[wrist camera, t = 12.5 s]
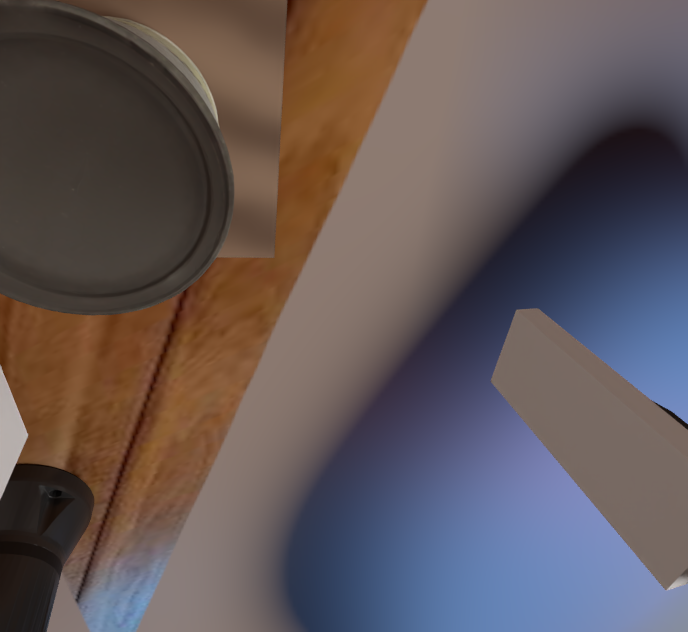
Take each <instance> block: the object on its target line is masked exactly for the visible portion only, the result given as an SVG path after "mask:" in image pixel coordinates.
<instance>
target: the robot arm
mask: <svg viewBox="0 0 688 632" xmlns="http://www.w3.org/2000/svg"><path fill="white" fill-rule="evenodd" d="M491 382H492V384H493V385H494V386H495V387H496V388H497V389H498V391H499V392H500V393H501V394H502V395H503V396H504V398H505V399H506V400H507V401H508V403H509V404H510V405H511V406H512V407H513V409H514V410H515V411H516V412H517V413H518V415H519V416H520V417H521V418H522V419H523V421H524V422H525V423H526V424H527V425H528V426H529V428H530V429H531V430H532V431H533V432H534V434H535V435H536V436H537V437H538V438H539V440H540V441H541V442H542V443H543V444H544V446H545V447H546V448H547V449H548V450H549V451H550V453H551V454H552V455H553V456H554V458H555V459H556V460H557V461H558V462H559V463H560V465H561V466H562V467H563V468H564V469H565V471H566V472H567V473H568V474H569V475H570V477H571V478H572V479H573V480H574V481H575V483H576V484H577V485H578V486H579V487H580V489H581V490H582V491H583V492H584V493H585V494H586V496H587V497H588V498H589V499H590V500H591V502H592V503H593V504H594V505H595V506H596V508H597V509H598V510H599V511H600V512H601V514H602V515H603V516H604V517H605V518H606V520H607V521H608V522H609V523H610V524H611V526H612V527H613V528H614V529H615V530H616V531H617V533H618V534H619V535H620V536H621V537H622V539H623V540H624V541H625V542H626V543H627V545H628V546H629V547H630V548H631V549H632V550H633V552H634V553H635V554H636V555H637V557H638V558H639V559H640V560H641V561H642V563H643V564H644V565H645V566H646V567H647V568H648V570H649V571H650V572H651V573H652V574H653V576H654V577H655V578H656V579H657V580H658V582H659V583H660V584H661V585H662V586H663V588H664V589H665V590H669V589H672V588H675V587H678V586H681V585H685V584H688V424H687V423H685V422H684V421H683V420H682V419H680V418H679V417H678V416H676V415H675V414H674V413H673V412H671V411H669V410H668V409H666V408H664V407H662V406H660V405H658V404H657V403H655V402H653V401H652V400H650V399H649V398H648V397H646V396H645V395H644V394H643V393H642V392H640V391H639V390H638V389H637V388H635V387H634V386H633V385H632V384H630V383H629V382H628V381H627V380H625V379H624V378H623V377H622V376H620V375H619V374H618V373H617V372H616V371H614V370H613V369H612V368H611V367H609V366H608V365H607V364H606V363H604V362H603V361H602V360H601V359H600V358H598V357H597V356H596V355H595V354H593V353H592V352H591V351H590V350H588V349H587V348H586V347H585V346H584V345H582V344H581V343H580V342H579V341H577V340H576V339H575V338H573V337H572V336H571V335H570V334H569V333H567V332H566V331H565V330H564V329H563V328H561V327H560V326H559V325H557V324H556V323H555V322H554V321H553V320H551V319H550V318H549V317H548V316H546V315H545V314H544V313H543V312H542V311H540V310H539V309H523V310H516V313H515V315H514V318H513V321H512V324H511V327H510V329H509V332H508V335H507V338H506V340H505V343H504V346H503V349H502V351H501V354H500V357H499V360H498V362H497V365H496V368H495V371H494V373H493V376H492V379H491ZM27 437H28V434H27V431H26V429H25V426H24V424H23V421H22V419H21V416H20V414H19V411H18V409H17V406H16V404H15V401H14V399H13V396H12V394H11V391H10V389H9V386H8V384H7V381H6V379H5V376H4V374H3V371H2V369H1V366H0V632H47V628H48V624H49V619H50V616H51V612H52V608H53V604H54V600H55V596H56V592H57V588H58V584H59V580H60V576H61V572H62V568H63V566H64V564H65V562H66V560H67V559H68V557H69V556H70V554H71V553H72V551H73V549H74V548H75V546H76V545H77V543H78V541H79V540H80V538H81V537H82V535H83V533H84V532H85V530H86V529H87V527H88V525H89V522H90V519H91V515H92V511H93V507H94V497H93V494H92V491H91V490H90V488H89V487H88V486H87V485H86V484H85V483H84V482H83V481H82V480H81V479H79V478H77V477H76V476H74V475H72V474H70V473H68V472H65V471H62V470H59V469H55V468H51V467H45V466H37V465H16V462H17V460H18V458H19V455H20V453H21V451H22V448H23V446H24V444H25V441H26V439H27Z"/></svg>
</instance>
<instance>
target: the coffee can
mask: <svg viewBox="0 0 688 632" xmlns="http://www.w3.org/2000/svg"><path fill="white" fill-rule="evenodd" d="M233 209H234V175H233V169H232V165H231V160H230V156H229V152H228V149H227V146H226V143H225V140H224V138H223V135H222V133H221V130H220V128H219V124H218V115H217V110H216V106H215V103H214V99H213V97H212V94H211V92H210V89H209V87H208V85H207V83H206V81H205V79H204V78H203V76H202V74H201V72H200V71H199V69H198V68H197V67H196V65H195V64H194V63H193V62H192V60H191V59H190V58H189V57H188V56H187V55H186V54H185V53H184V52H183V51H182V50H181V49H180V48H179V47H178V46H177V45H175V44H174V43H173V42H172V41H170V40H169V39H168V38H167V37H165V36H163V35H162V34H160V33H158V32H157V31H155V30H153V29H151V28H149V27H147V26H145V25H142V24H139V23H137V22H134V21H132V20H129V19H124V18H116V17H110V16H100V15H98V14H96V13H94V12H91V11H88V10H86V9H83V8H80V7H77V6H74V5H71V4H67V3H63V2H60V1H56V0H0V293H1V294H3V295H5V296H7V297H10V298H12V299H14V300H17V301H20V302H23V303H26V304H29V305H32V306H35V307H39V308H43V309H47V310H51V311H58V312H62V313H70V314H82V315H113V314H121V313H127V312H132V311H137V310H142V309H145V308H148V307H151V306H154V305H157V304H159V303H161V302H163V301H166V300H168V299H170V298H172V297H174V296H176V295H177V294H179V293H181V292H182V291H184V290H185V289H186V288H188V287H189V286H190V285H192V284H193V283H194V282H195V281H197V280H198V279H199V278H200V277H201V276H202V275H203V274H204V273H205V271H206V270H207V269H208V268H209V266H210V265H211V264H212V263H213V261H214V260H215V259H216V257H217V256H218V254H219V252H220V250H221V248H222V246H223V244H224V242H225V240H226V237H227V235H228V232H229V228H230V224H231V220H232V215H233Z"/></svg>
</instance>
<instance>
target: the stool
mask: <svg viewBox="0 0 688 632" xmlns="http://www.w3.org/2000/svg"><path fill="white" fill-rule="evenodd" d="M56 1H60V2H63V3H67V4H71V5H74V6H77V7H80V8H83V9H86V10H88V11H91V12H94V13H96V14H98V15H100V16H110V17H116V18H124V19H129V20H132V21H134V22H137V23H139V24H142V25H145V26H147V27H149V28H151V29H153V30H155V31H157V32H158V33H160V34H162V35H163V36H165V37H167V38H168V39H169V40H170V41H172V42H173V43H174V44H175V45H177V46H178V47H179V48H180V49H181V50H182V51H183V52H184V53H185V54H186V55H187V56H188V57H189V58H190V59H191V60H192V62H193V63H194V64H195V65H196V67H197V68H198V69H199V71H200V72H201V74H202V76H203V78H204V79H205V81H206V83H207V85H208V87H209V89H210V92H211V94H212V97H213V99H214V103H215V106H216V110H217V115H218V124H219V128H220V130H221V133H222V135H223V138H224V140H225V143H226V146H227V149H228V152H229V156H230V160H231V165H232V169H233V175H234V209H233V215H232V220H231V224H230V228H229V232H228V235H227V237H226V240H225V242H224V244H223V246H222V248H221V250H220V252H219V254H218V256H217V257H254V258H274V252H275V232H276V213H277V193H278V173H279V153H280V133H281V114H282V94H283V74H284V54H285V34H286V15H287V0H56Z"/></svg>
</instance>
